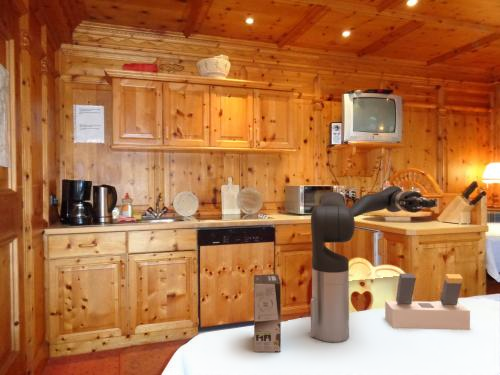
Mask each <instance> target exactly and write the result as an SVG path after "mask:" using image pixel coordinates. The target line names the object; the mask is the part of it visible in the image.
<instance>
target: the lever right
mask: <svg viewBox="0 0 500 375" xmlns="http://www.w3.org/2000/svg"><path fill="white" fill-rule="evenodd" d="M463 279H464V278H463V277H462V275H461V274H459V273H457V274H456V273H454V274H453V273H452V274H451V273H445V276H444V281H443V287H442V290H441V295H440V301H439V302H441V304H442V305H454V306H457V302H458V301H459V297H460V293H461V288H462V283H463ZM458 303H459V302H458Z"/></svg>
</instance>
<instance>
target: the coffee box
mask: <svg viewBox="0 0 500 375" xmlns="http://www.w3.org/2000/svg"><path fill="white" fill-rule="evenodd" d="M281 284H282V283H281V280H280V277H279V274H277V273H275V274H273V273H272V274H254V275H253V332H254V333H253V335H254V336H253V338H254V339H253V340H254V341H253V342H254V345H253V346H254V352H257V353H258V352H259V353H260V352H262V353H264V352H266V353H267V352H268V353H270V352H271V353H273V352H274V353H276V352H275V351H278V352H277V353H280V352H281V351H282V350H281V346H282V345H281V337H282V335H281V334H282V332H281V331H282V330H281V329H282V328H281V327H282V324H281V323H282V322H281V320H282V318H281V316H282V314H281V312H282V311H281V309H282V308H281V306H282V302H281V297H282V296H281V295H282V294H281V293H282V292H281V289H282V288H281V286H282V285H281ZM279 351H280V352H279Z"/></svg>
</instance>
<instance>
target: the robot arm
mask: <svg viewBox="0 0 500 375" xmlns="http://www.w3.org/2000/svg"><path fill="white" fill-rule="evenodd" d="M318 200H319V201H318V202H319V205H317V206H314V207H313V208H312V209H311V214H310V231H311V248H312V249H311V253H312V254H311V255H312V256H311V258H312V259H311V274H312V275H311V276H312V277H311V280H312V281H311V294H312V295H311V299H310V337H311V338H316V339H318V340H320V341H323V342H329V343H339V342H344V341H346V340H348V339H349V338H350V311H349V310H350V290H349V289H350V282H349V280H350V277H349V276H350V275H349V274H350V271H349V270H350V268H349V267H350V266H349V264H350V263H349V259H348V258H347V257H346V256H345V255H342V254H340V253H337V252H335V251H333V250H331V249H330V248H328V247H327V246H326V245H325V243H339V244H340V243H347V242H349V241H351V240H352V238H353V236H354V234H355V229H356V221H355V218H356V217H359V216H362V215H364V214H367V213H368V214H369V213H372V212H379V211H383V210H385V209H386V211H387V212H390V213H398V212H401V211H404V212H407V213H413V214H414V213H419V212H420V211H422V209H430V208H431V209H432V208H435V207H438V198H431V199H428V198H426V197H425V196H423V194H422V193H420V192H418V191H414V190H404V191H403V189H402V188H401V187H399V186H397V185H390V186H388V187H386V188H384V189H382V190H380V191H377V192H375V193H367V194H363V195H362V196H360V197H359V198H358V199H357V200H356V201H355V202H354V203H353V204H352V205H351V207H348V206H347V204H346V199H345V196H344V194H342V193H341V192H338V191H337V192H336V191H330V192H325V193H323V194H321V195H320V197H319V199H318Z"/></svg>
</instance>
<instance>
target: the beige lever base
mask: <svg viewBox="0 0 500 375" xmlns="http://www.w3.org/2000/svg"><path fill="white" fill-rule="evenodd" d="M384 302H385V303H384V304H385V305H384V306H385V307H384V311H385V312H384V315H385V316H384V318H385V320H386V321H387V323H388V324H389V325H390V326H391V328H393V329H430V330H431V329H434V330H471V310H470V309H468V308H467V307H465V305H462V304H460V302H457V306H454V305H442V304H441V301H414V300H412V304H411V305H398V304H397V302H396V300H385V301H384Z"/></svg>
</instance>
